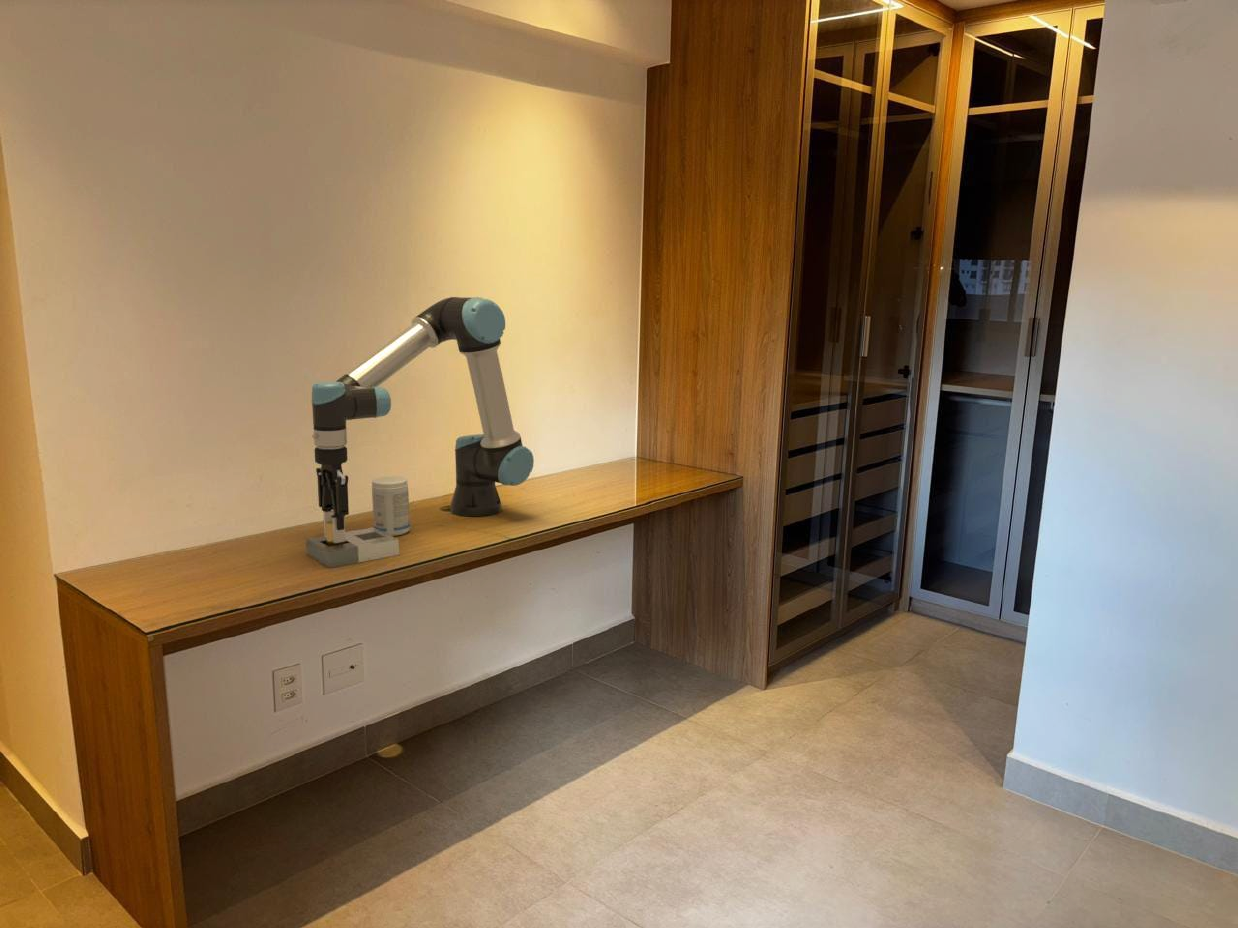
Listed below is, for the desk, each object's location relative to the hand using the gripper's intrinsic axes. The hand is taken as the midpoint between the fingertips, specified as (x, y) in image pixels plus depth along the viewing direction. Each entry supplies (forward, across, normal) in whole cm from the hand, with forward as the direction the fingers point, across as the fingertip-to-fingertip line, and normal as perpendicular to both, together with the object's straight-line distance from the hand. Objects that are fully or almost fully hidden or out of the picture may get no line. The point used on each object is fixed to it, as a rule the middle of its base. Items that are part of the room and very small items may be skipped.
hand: (334, 539), depth 220 cm
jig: (+5, 0, +4) cm, 7 cm away
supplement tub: (+5, -13, +22) cm, 26 cm away
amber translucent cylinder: (+4, 0, 0) cm, 4 cm away
